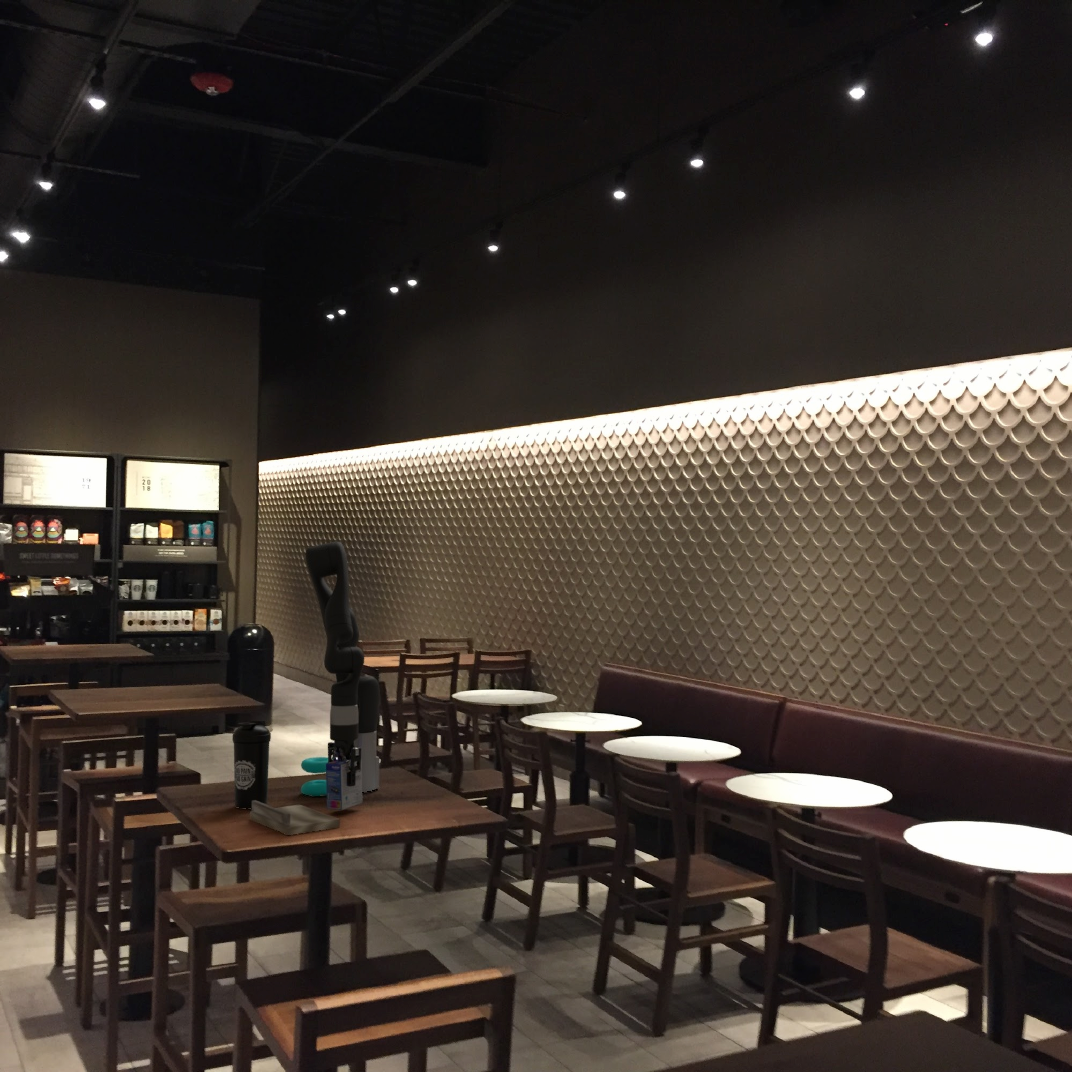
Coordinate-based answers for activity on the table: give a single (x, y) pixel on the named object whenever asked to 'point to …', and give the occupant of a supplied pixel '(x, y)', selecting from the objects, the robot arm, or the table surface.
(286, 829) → the shelf board
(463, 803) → the table surface
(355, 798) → the ink cartridge box
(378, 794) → the table surface
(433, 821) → the table surface
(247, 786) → the water bottle
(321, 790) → the donuts
